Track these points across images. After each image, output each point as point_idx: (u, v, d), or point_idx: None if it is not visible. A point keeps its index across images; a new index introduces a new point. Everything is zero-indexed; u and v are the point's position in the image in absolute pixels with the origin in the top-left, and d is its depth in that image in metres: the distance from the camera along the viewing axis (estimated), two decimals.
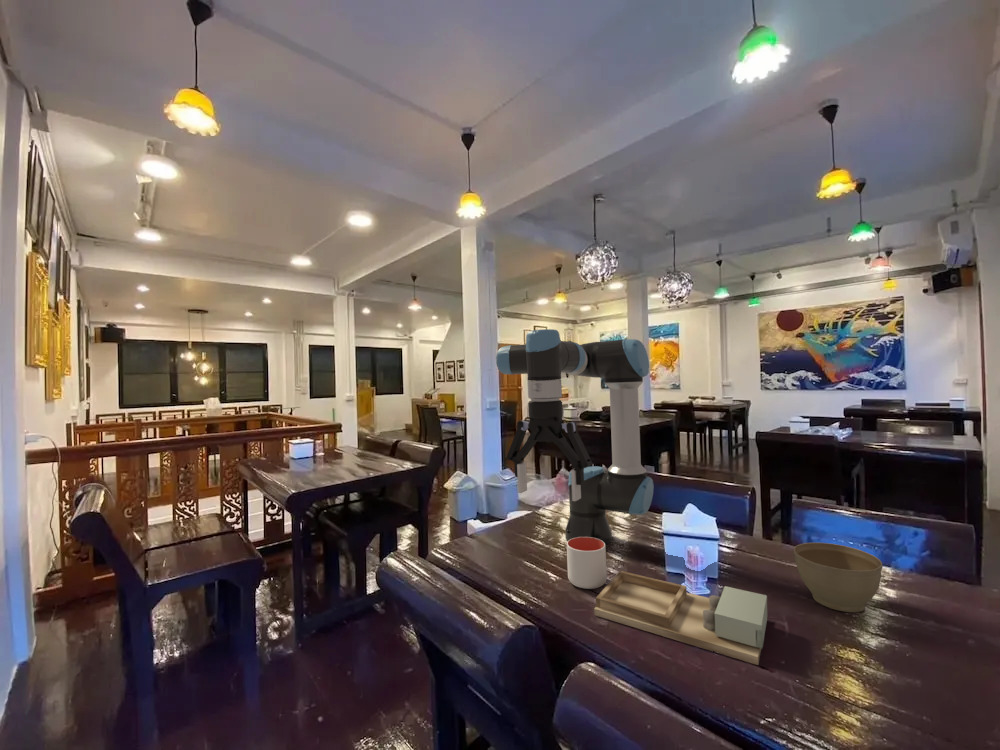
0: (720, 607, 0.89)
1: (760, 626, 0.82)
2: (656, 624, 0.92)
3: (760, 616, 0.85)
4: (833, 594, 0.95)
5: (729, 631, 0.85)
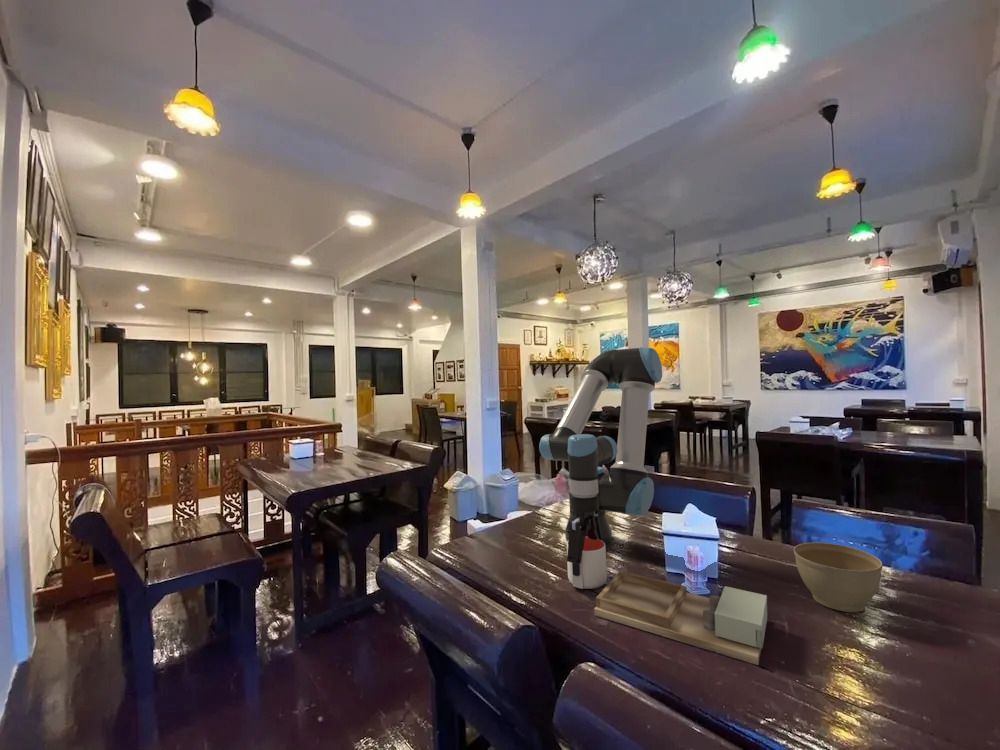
0: (720, 607, 0.89)
1: (760, 626, 0.82)
2: (656, 624, 0.92)
3: (760, 616, 0.85)
4: (833, 594, 0.95)
5: (729, 631, 0.85)
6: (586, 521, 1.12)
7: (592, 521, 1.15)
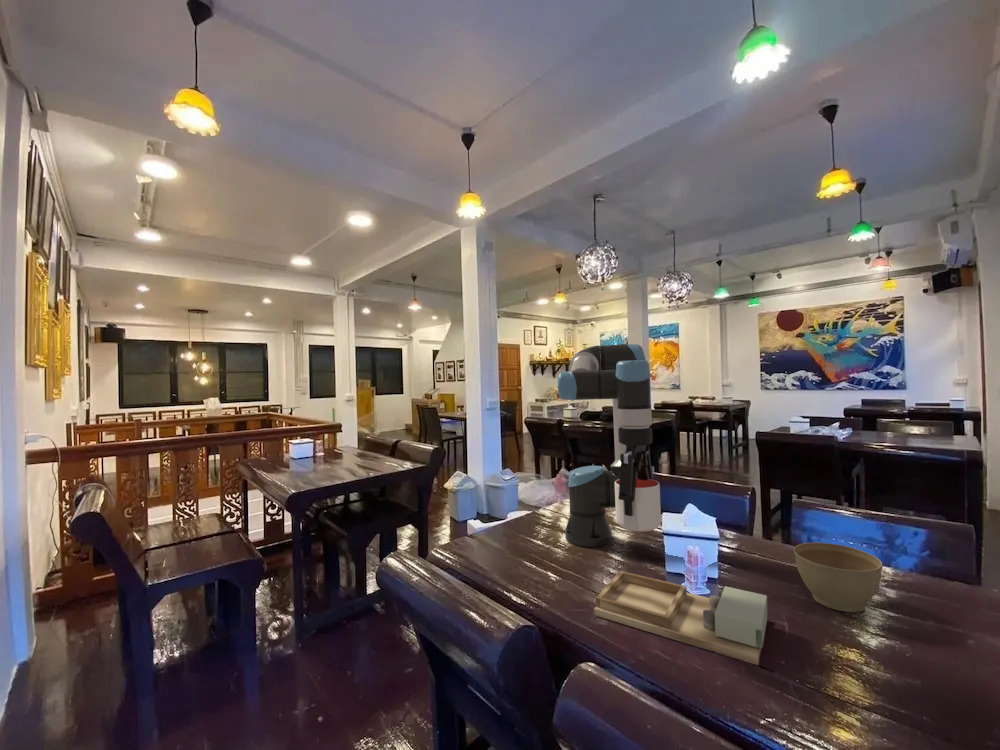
0: (720, 607, 0.89)
1: (760, 626, 0.82)
2: (656, 624, 0.92)
3: (760, 616, 0.85)
4: (833, 594, 0.95)
5: (729, 631, 0.85)
6: (638, 455, 0.99)
7: (644, 457, 1.01)
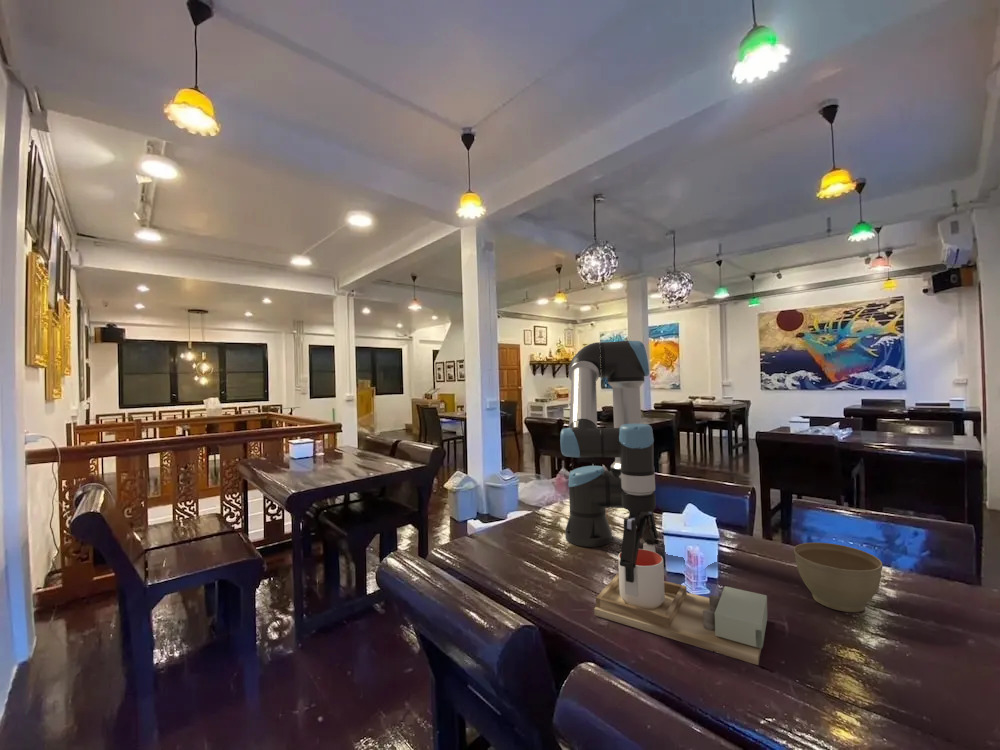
0: (720, 607, 0.89)
1: (760, 626, 0.82)
2: (656, 624, 0.92)
3: (760, 616, 0.85)
4: (833, 594, 0.95)
5: (729, 631, 0.85)
6: (641, 521, 0.99)
7: (647, 521, 1.01)
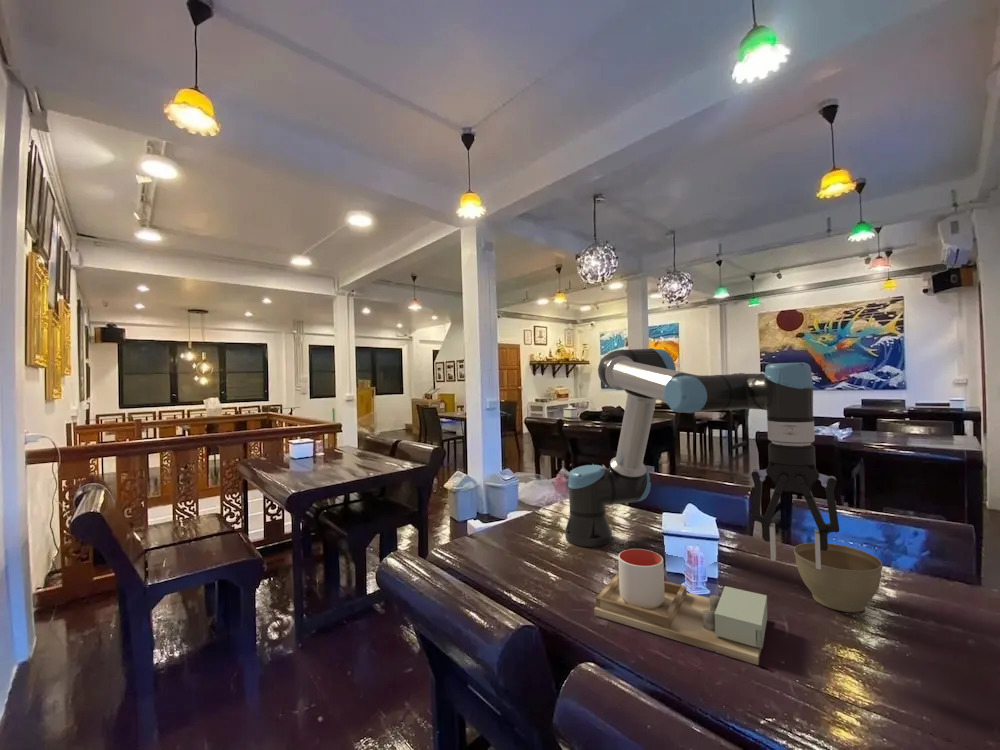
0: (720, 607, 0.89)
1: (760, 626, 0.82)
2: (656, 624, 0.92)
3: (760, 616, 0.85)
4: (833, 594, 0.95)
5: (729, 631, 0.85)
6: None
7: None
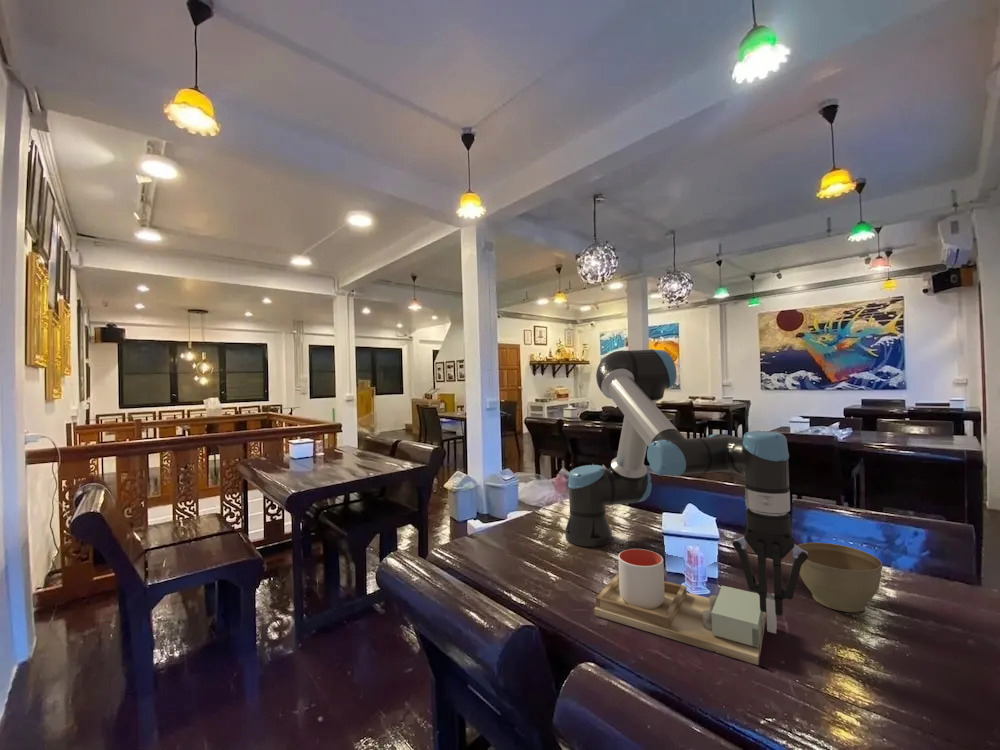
0: (717, 606, 0.89)
1: (756, 625, 0.82)
2: (656, 624, 0.92)
3: (757, 615, 0.85)
4: (833, 594, 0.95)
5: (726, 630, 0.85)
6: None
7: None
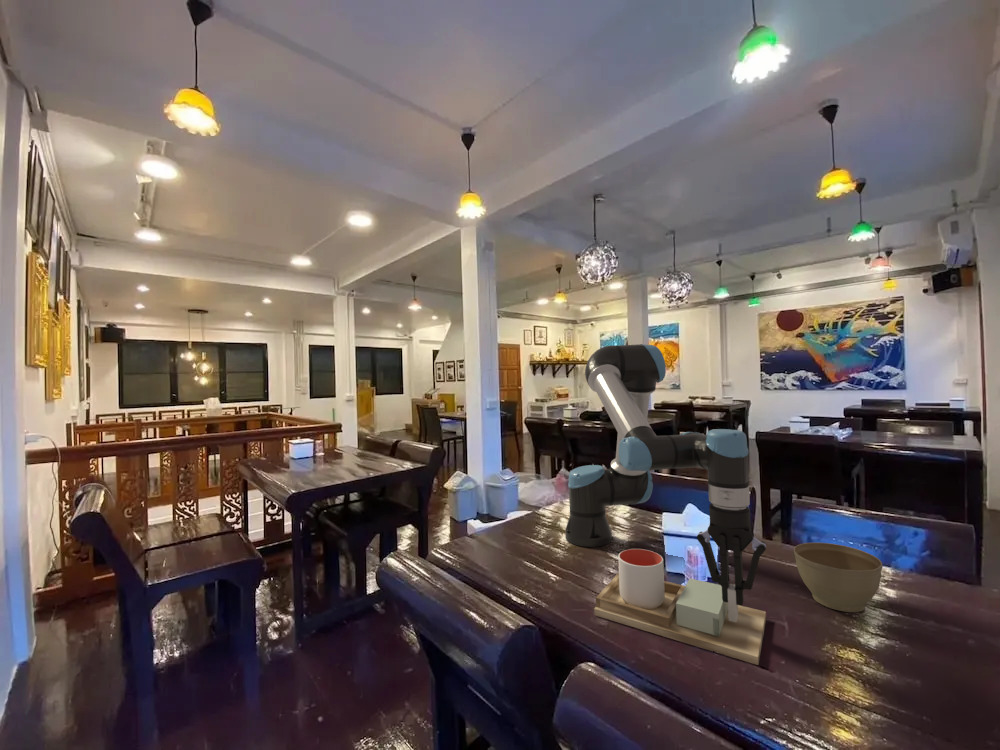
0: (682, 597, 0.93)
1: (717, 615, 0.86)
2: (656, 624, 0.92)
3: (719, 606, 0.89)
4: (833, 594, 0.95)
5: (689, 620, 0.89)
6: None
7: None
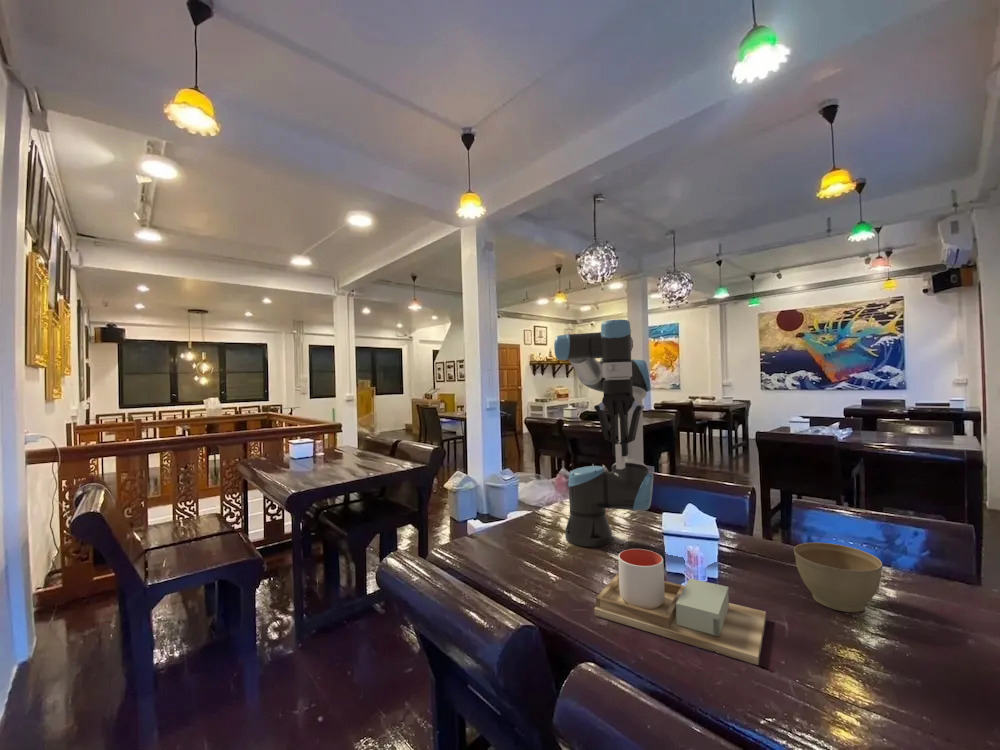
0: (682, 597, 0.93)
1: (717, 615, 0.86)
2: (656, 624, 0.92)
3: (719, 606, 0.89)
4: (833, 594, 0.95)
5: (689, 620, 0.89)
6: None
7: None
